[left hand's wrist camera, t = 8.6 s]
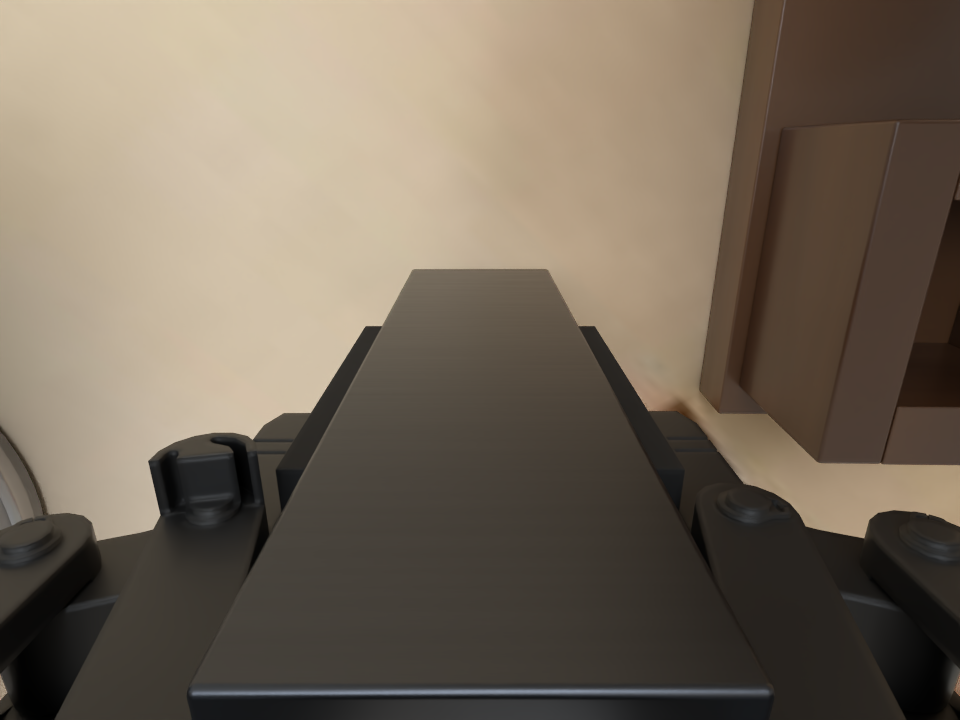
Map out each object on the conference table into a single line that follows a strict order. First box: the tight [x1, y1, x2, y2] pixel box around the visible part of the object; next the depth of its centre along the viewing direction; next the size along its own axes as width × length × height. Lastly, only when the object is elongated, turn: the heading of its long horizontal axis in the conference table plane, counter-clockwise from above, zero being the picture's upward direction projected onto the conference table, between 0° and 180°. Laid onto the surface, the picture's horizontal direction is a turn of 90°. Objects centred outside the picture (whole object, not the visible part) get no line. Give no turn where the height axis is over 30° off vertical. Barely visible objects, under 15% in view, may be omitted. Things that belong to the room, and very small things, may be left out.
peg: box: [187, 269, 775, 720], centre depth 11 cm, size 4×4×14 cm
